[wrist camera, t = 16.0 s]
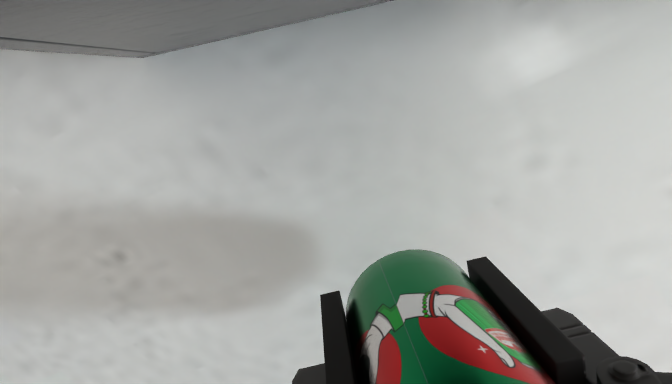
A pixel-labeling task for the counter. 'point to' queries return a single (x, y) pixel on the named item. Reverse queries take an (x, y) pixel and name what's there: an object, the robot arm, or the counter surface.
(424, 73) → the counter surface
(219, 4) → the bin
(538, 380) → the soda can
